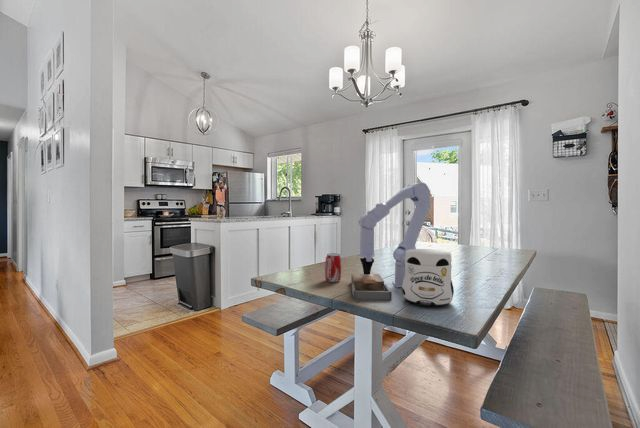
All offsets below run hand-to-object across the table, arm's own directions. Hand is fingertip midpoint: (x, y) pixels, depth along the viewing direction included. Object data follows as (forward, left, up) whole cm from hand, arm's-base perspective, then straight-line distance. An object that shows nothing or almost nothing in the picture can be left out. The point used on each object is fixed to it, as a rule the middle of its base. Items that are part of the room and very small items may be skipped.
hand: (366, 275), depth 135 cm
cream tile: (0, +3, -1) cm, 3 cm away
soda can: (+14, -9, -5) cm, 17 cm away
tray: (0, +13, -5) cm, 14 cm away
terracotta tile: (0, +8, -1) cm, 8 cm away
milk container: (-19, +20, -5) cm, 28 cm away
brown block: (0, +1, -5) cm, 5 cm away
